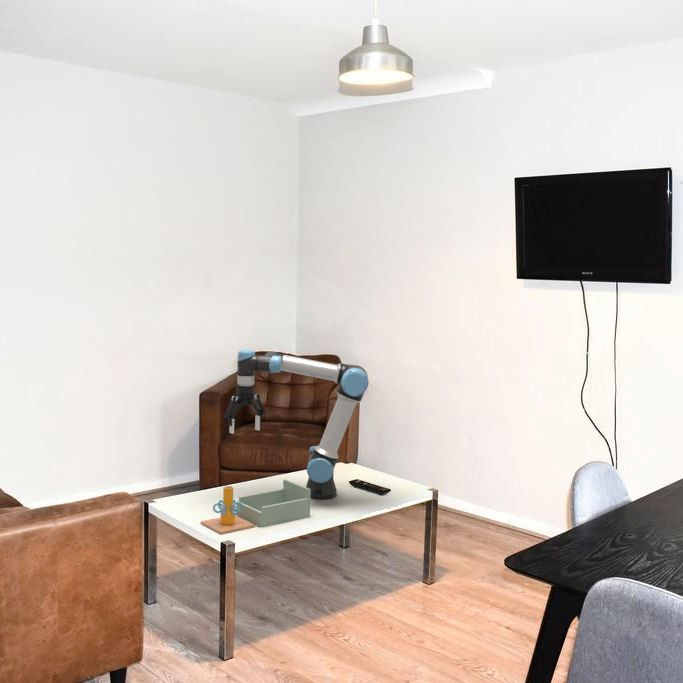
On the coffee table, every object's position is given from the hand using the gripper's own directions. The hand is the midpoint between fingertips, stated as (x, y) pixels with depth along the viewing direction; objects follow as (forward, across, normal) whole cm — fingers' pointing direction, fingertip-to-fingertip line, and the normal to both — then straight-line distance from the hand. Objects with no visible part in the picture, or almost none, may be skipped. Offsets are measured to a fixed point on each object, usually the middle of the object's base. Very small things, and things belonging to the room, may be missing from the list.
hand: (244, 431), depth 367 cm
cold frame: (+32, +2, +26) cm, 41 cm away
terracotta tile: (+32, +24, +26) cm, 48 cm away
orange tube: (+31, +24, +26) cm, 47 cm away
